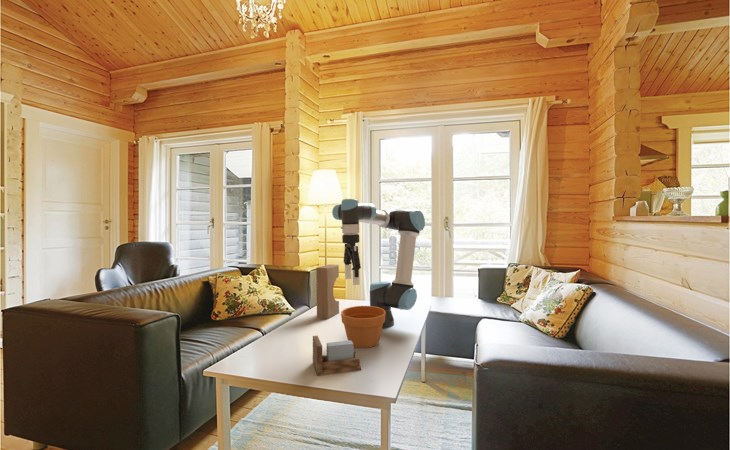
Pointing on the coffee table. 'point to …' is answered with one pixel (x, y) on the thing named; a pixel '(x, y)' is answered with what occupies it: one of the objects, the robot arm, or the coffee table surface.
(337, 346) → the blue-gray rectangular block
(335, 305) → the decorative block
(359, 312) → the flower pot
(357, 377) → the coffee table surface
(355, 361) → the track
